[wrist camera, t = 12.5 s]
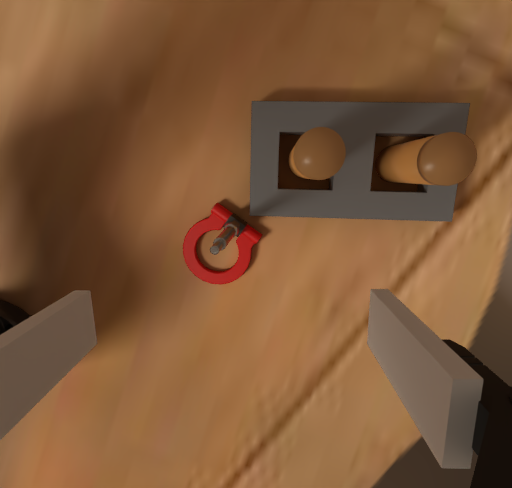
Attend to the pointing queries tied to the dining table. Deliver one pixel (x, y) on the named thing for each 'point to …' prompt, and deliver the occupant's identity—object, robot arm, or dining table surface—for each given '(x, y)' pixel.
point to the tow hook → (221, 244)
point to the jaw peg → (317, 154)
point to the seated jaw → (428, 160)
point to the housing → (349, 159)
